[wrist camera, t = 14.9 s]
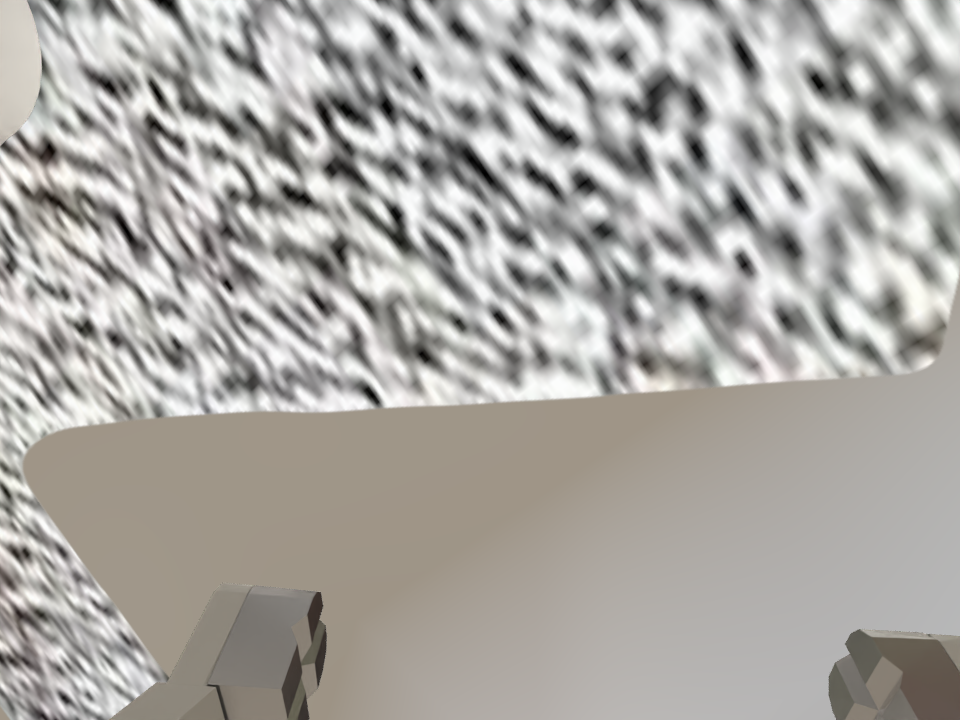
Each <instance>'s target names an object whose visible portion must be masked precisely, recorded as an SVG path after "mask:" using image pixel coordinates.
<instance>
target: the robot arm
mask: <svg viewBox="0 0 960 720" xmlns="http://www.w3.org/2000/svg"><path fill="white" fill-rule="evenodd" d="M41 73H42V62H41V50H40V43H39V38H38V33H37V29H36V25H35V22H34V19H33V15H32V13H31V10H30V7H29V4H28V2H27V0H0V146H1V145H2V144H3V143H4V142H5V141H6V140H7V139H8V138H9V137H11V136H12V135H13V134H14V133H15V132H17V131H18V130H19V129H20V128H21V127H22V126H23V124H24V123H25V122H26V120H27V119H28V117H29V116H30V114H31V112H32V110H33V108H34V106H35V103H36V101H37V97H38V94H39V89H40V84H41ZM322 609H323V602H322V595H321V592H315V591H305V590H295V589H285V588H274V587H264V586H255V585H242V584H230V583H222V584H221V585H220V586H219V587H218V588H217V589H216V590H215V591H214V593H213V594H212V596H211V598H210V600H209V602H208V604H207V606H206V608H205V610H204V612H203V614H202V616H201V618H200V619H199V622H198V623H197V625H196V627H195V629H194V631H193V633H192V635H191V637H190V639H189V641H188V643H187V645H186V647H185V649H184V651H183V652H182V655H181V656H180V658H179V660H178V662H177V665H176V666H175V668H174V670H173V672H172V674H171V676H170V678H169V680H168V682H167V683H161V682H157V683H155V684H154V685H153V686H151V687H150V688H149V689H148V690H146V691H145V692H144V693H142V694H141V695H140V696H139V697H137V698H136V699H135V700H134V701H132V702H131V703H130V704H128V705H127V706H126V707H125V708H123V709H122V710H121V711H119V712H118V713H117V714H116V715H114V716H113V717H112V718H111V719H109V720H309V712H308V705H307V699H308V698H309V697H310V696H311V695H312V694H313V693H314V692H315V691H316V690H317V689H318V687H319V683H320V679H321V676H322V672H323V667H324V661H325V655H326V646H327V645H326V644H327V643H326V642H327V633H326V625H325V624H324V623H322V621H320V620H319V619H320V615H321V612H322ZM845 645H846V647H847V649H848V651H849V652H850V654H849V655H847V656H846V657H844V658H842V659H841V660H839V661H837V662H836V663H835V664H834V667H833V669H832V671H831V673H830V675H829V698H830V702H831V706H832V711H833V713H834V715H835V717H836V720H960V636H951V635H935V634H924V633H918V632H901V631H882V630H865V629H859V630H857V631H855V632H853V633H851V634H850V636H849V638H848V640H847V641H846V643H845Z"/></svg>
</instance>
